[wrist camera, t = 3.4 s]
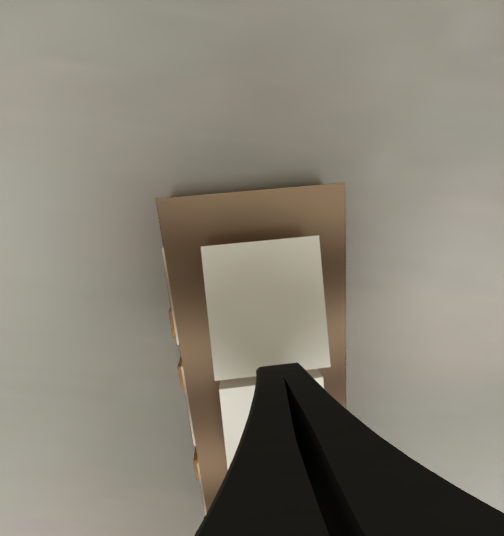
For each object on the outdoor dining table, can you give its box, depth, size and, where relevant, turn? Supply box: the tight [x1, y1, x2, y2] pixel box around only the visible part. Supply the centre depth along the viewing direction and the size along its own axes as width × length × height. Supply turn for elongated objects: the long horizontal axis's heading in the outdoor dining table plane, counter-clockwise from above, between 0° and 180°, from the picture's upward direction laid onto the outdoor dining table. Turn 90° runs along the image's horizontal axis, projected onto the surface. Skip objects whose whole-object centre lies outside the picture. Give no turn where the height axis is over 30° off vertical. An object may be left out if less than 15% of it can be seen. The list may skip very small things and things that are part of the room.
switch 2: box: [219, 369, 324, 470], centre depth 13 cm, size 5×4×1 cm
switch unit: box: [156, 183, 346, 516], centre depth 15 cm, size 21×8×4 cm, turn 5°
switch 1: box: [201, 235, 331, 381], centre depth 11 cm, size 5×4×1 cm
